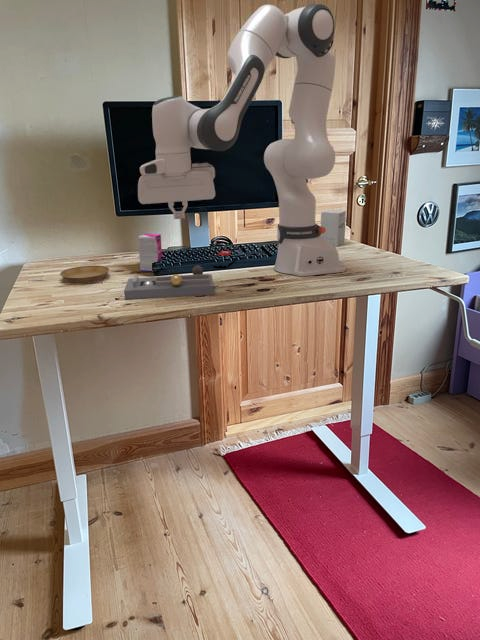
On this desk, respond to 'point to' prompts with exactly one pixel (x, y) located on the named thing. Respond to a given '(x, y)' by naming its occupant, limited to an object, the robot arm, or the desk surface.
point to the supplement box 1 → (149, 250)
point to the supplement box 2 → (334, 226)
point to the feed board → (169, 287)
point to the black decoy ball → (197, 270)
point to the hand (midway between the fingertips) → (179, 218)
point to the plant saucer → (85, 274)
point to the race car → (225, 253)
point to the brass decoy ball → (176, 280)
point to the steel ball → (148, 283)
